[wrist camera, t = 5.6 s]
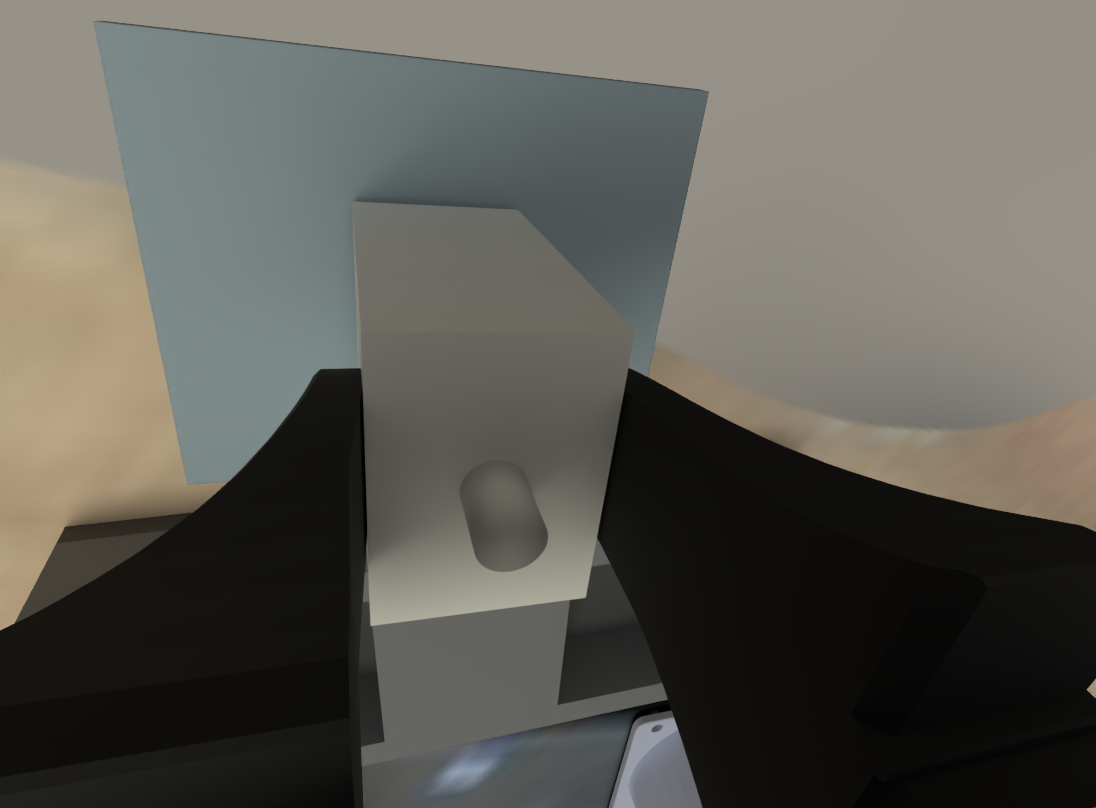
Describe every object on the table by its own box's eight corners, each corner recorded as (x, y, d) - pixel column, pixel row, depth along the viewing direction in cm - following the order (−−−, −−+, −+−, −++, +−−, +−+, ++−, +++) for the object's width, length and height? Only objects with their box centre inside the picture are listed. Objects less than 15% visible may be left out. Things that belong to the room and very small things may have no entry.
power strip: (749, 442, 22) (823, 521, 19) (704, 606, 26) (759, 695, 23) (70, 516, 17) (2, 646, 13) (147, 708, 21) (110, 843, 17)
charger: (518, 209, 15) (672, 369, 8) (501, 402, 17) (609, 653, 10) (352, 201, 14) (364, 377, 7) (359, 407, 16) (374, 691, 9)
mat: (698, 89, 15) (709, 91, 15) (624, 446, 20) (630, 455, 20) (102, 20, 12) (93, 21, 11) (190, 472, 16) (187, 484, 16)
